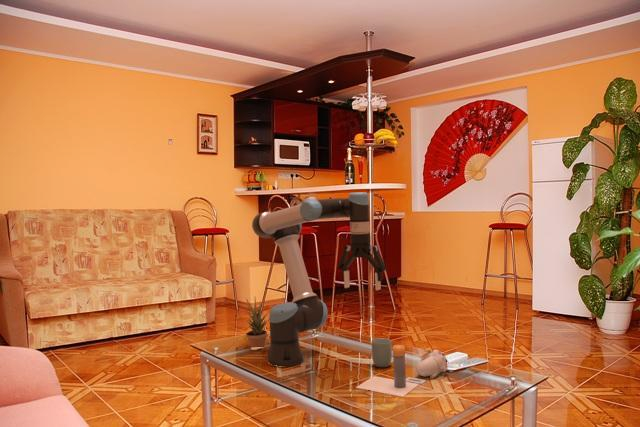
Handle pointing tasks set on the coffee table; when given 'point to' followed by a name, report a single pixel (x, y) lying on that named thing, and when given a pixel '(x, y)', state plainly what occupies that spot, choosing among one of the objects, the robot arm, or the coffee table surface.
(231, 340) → the coffee table surface
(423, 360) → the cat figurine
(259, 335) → the potted plant
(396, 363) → the marker
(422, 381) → the plate
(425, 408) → the coffee table surface
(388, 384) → the paper
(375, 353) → the cup
